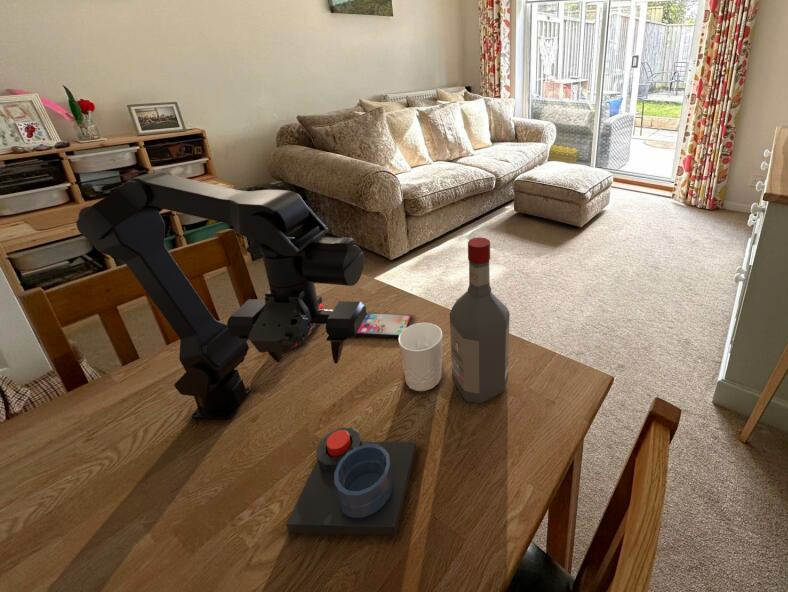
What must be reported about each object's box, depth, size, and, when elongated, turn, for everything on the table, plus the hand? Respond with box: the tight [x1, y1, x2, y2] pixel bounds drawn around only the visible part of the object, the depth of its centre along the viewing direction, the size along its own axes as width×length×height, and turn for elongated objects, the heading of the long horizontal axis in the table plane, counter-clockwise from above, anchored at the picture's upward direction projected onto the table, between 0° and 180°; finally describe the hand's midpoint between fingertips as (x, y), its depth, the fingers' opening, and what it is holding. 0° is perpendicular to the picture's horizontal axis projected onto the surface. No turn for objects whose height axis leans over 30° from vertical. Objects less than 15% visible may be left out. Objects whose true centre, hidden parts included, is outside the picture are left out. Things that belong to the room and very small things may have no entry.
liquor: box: [449, 236, 511, 405], centre depth 71 cm, size 9×9×30 cm
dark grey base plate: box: [286, 426, 417, 536], centre depth 58 cm, size 14×13×4 cm
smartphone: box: [354, 312, 413, 339], centre depth 91 cm, size 8×1×15 cm
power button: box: [326, 430, 351, 456], centre depth 60 cm, size 3×3×2 cm
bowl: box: [334, 444, 393, 518], centre depth 55 cm, size 7×7×5 cm
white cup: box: [397, 322, 443, 392], centre depth 76 cm, size 8×8×10 cm
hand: (308, 361), depth 65 cm, fingers open, 9 cm apart
